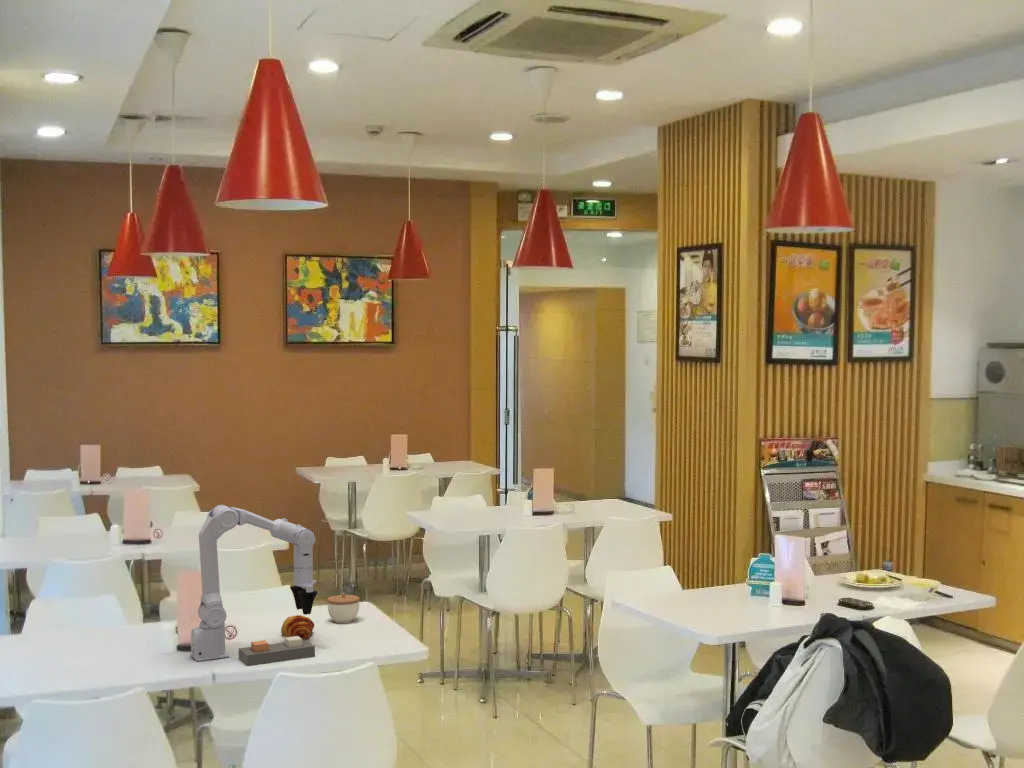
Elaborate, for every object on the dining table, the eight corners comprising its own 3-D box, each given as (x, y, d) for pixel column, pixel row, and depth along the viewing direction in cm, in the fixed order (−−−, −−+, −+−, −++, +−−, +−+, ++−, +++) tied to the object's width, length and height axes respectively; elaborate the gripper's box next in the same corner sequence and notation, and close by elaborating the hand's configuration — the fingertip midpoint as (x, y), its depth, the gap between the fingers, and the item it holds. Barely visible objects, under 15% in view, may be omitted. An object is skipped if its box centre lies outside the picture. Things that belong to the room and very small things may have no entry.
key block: (247, 665, 304) (247, 655, 304) (238, 658, 312) (238, 648, 312) (314, 656, 314) (314, 646, 314) (304, 649, 322) (304, 639, 322)
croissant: (283, 638, 349) (271, 618, 347) (310, 622, 352) (298, 601, 351) (294, 653, 329) (282, 631, 328) (323, 635, 332) (311, 614, 331)
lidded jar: (325, 618, 361) (325, 591, 361) (356, 616, 365) (356, 588, 364) (329, 625, 351) (329, 597, 351) (362, 623, 354) (362, 595, 354)
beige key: (289, 650, 313) (288, 640, 313) (284, 647, 316) (284, 637, 316) (302, 649, 315) (302, 638, 315) (297, 646, 318) (297, 635, 318)
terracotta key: (255, 655, 308) (255, 645, 308) (251, 652, 311) (251, 642, 311) (268, 653, 310) (268, 643, 310) (264, 650, 313) (264, 640, 313)
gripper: (322, 570, 323) (323, 615, 323) (309, 562, 336) (309, 605, 336) (299, 572, 320) (300, 617, 320) (287, 564, 333) (287, 607, 333)
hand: (303, 611), depth 328 cm, fingers open, 7 cm apart
